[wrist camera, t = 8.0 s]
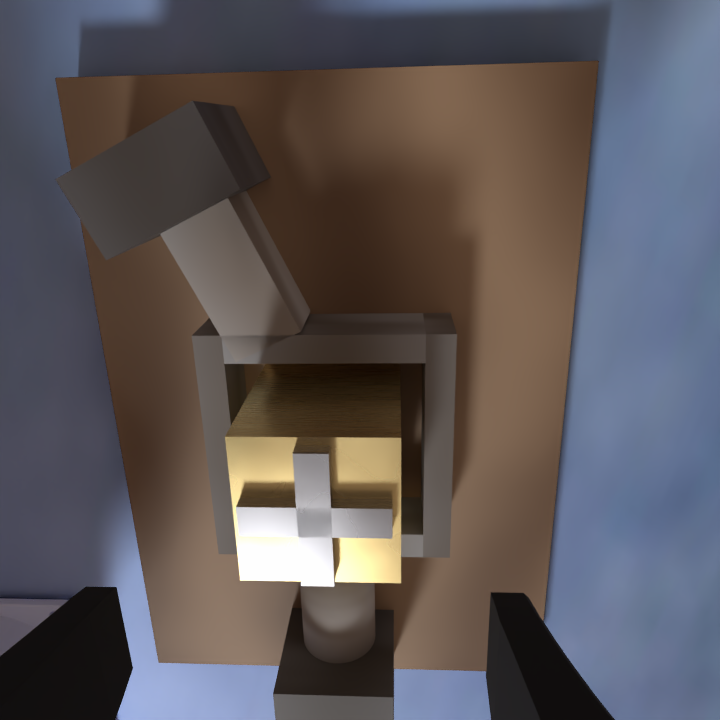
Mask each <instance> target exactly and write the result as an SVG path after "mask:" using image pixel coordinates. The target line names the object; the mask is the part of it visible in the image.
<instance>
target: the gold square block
mask: <svg viewBox="0 0 720 720" xmlns="http://www.w3.org/2000/svg"><path fill="white" fill-rule="evenodd" d="M225 443H226V452H227V461H228V470H229V479H230V488H231V498H232V507H233V516H234V525H235V534H236V544H237V553H238V562H239V571H240V580H258V581H301V586H330V587H334V586H335V582H361V583H401V394H400V363H342V364H265V366H264V367H263V369H262V371H261V373H260V375H259V376H258V378H257V380H256V382H255V384H254V385H253V387H252V389H251V391H250V393H249V394H248V396H247V398H246V400H245V402H244V403H243V405H242V407H241V409H240V411H239V412H238V414H237V416H236V418H235V420H234V421H233V423H232V425H231V427H230V429H229V430H228V432H227V434H226V436H225Z"/></svg>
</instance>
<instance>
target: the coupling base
mask: <svg viewBox="0 0 720 720" xmlns="http://www.w3.org/2000/svg"><path fill="white" fill-rule="evenodd" d="M598 63H599V61H578V62H546V63H514V64H482V65H450V66H418V67H386V68H354V69H323V70H291V71H259V72H227V73H195V74H163V75H131V76H99V77H68V78H55V79H56V85H57V91H58V96H59V102H60V107H61V113H62V119H63V124H64V130H65V136H66V141H67V147H68V153H69V158H70V164H71V171H69V172H67V173H65V174H64V175H62V176H60V177H59V178H57V179H55V180H56V181H57V183H58V185H59V186H60V188H61V189H62V191H63V193H64V194H65V196H66V197H67V199H68V200H69V202H70V204H71V205H72V207H73V208H74V210H75V212H76V213H77V215H78V216H79V218H80V221H81V226H82V232H83V237H84V243H85V249H86V254H87V260H88V266H89V271H90V277H91V283H92V288H93V294H94V300H95V305H96V311H97V317H98V322H99V328H100V334H101V339H102V345H103V350H104V356H105V362H106V367H107V373H108V379H109V384H110V390H111V396H112V401H113V407H114V413H115V418H116V424H117V430H118V435H119V441H120V447H121V452H122V458H123V464H124V469H125V475H126V480H127V486H128V492H129V497H130V503H131V509H132V514H133V520H134V526H135V531H136V537H137V543H138V548H139V554H140V560H141V565H142V571H143V577H144V582H145V588H146V594H147V599H148V605H149V610H150V616H151V622H152V627H153V633H154V639H155V644H156V650H157V656H158V661H159V663H194V664H232V665H271V666H279V670H278V674H277V679H276V684H275V688H274V693H273V697H274V707H275V718H276V720H394V669H425V670H463V671H486V669H487V650H488V631H489V613H490V594H491V592H508V593H524V594H525V595H527V596H528V597H529V599H530V600H531V602H532V604H533V606H534V607H535V609H536V611H537V612H538V614H539V616H540V617H541V619H542V620H544V610H545V600H546V590H547V580H548V569H549V559H550V549H551V539H552V529H553V519H554V509H555V498H556V488H557V478H558V468H559V458H560V448H561V438H562V428H563V417H564V407H565V397H566V387H567V377H568V367H569V357H570V347H571V336H572V326H573V316H574V306H575V296H576V286H577V276H578V266H579V255H580V245H581V235H582V225H583V215H584V205H585V195H586V184H587V174H588V164H589V154H590V144H591V134H592V124H593V114H594V103H595V93H596V83H597V73H598ZM342 363H400V394H401V583H361V582H335V586H334V587H330V586H301V581H258V580H240V571H239V562H238V553H237V544H236V534H235V525H234V516H233V507H232V498H231V488H230V479H229V470H228V461H227V452H226V443H225V436H226V434H227V432H228V430H229V429H230V427H231V425H232V423H233V421H234V420H235V418H236V416H237V414H238V412H239V411H240V409H241V407H242V405H243V403H244V402H245V400H246V398H247V396H248V394H249V393H250V391H251V389H252V387H253V385H254V384H255V382H256V380H257V378H258V376H259V375H260V373H261V371H262V369H263V367H264V366H265V364H342Z"/></svg>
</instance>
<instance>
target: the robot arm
mask: <svg viewBox="0 0 720 720" xmlns="http://www.w3.org/2000/svg"><path fill="white" fill-rule="evenodd" d="M132 669H133V667H132V662H131V657H130V652H129V647H128V642H127V637H126V632H125V628H124V623H123V618H122V613H121V608H120V603H119V598H118V593H117V588H116V587H85V588H84V589H82V590H81V591H80V592H79V593H77V594H76V595H75V596H73V597H72V598H71V599H70V600H52V599H2V598H0V720H115V718H116V716H117V713H118V710H119V707H120V705H121V702H122V699H123V696H124V693H125V690H126V687H127V684H128V681H129V678H130V675H131V672H132ZM486 679H487V688H488V696H489V705H490V713H491V720H615V719H614V718H613V717H612V716H611V714H610V713H609V712H608V711H607V710H606V708H605V707H604V706H603V705H602V703H601V702H600V701H599V699H598V698H597V697H596V696H595V694H594V693H593V692H592V690H591V689H590V688H589V686H588V685H587V684H586V682H585V681H584V680H583V678H582V677H581V676H580V674H579V673H578V672H577V670H576V669H575V667H574V666H573V665H572V663H571V662H570V661H569V659H568V658H567V656H566V655H565V653H564V652H563V651H562V649H561V648H560V646H559V645H558V643H557V642H556V640H555V639H554V637H553V636H552V634H551V633H550V631H549V630H548V628H547V627H546V625H545V623H544V622H543V620H542V619H541V617H540V616H539V614H538V612H537V611H536V609H535V607H534V606H533V604H532V602H531V600H530V599H529V597H528V596H527V595H525V594H524V593H508V592H491V594H490V613H489V631H488V650H487V669H486Z"/></svg>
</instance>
